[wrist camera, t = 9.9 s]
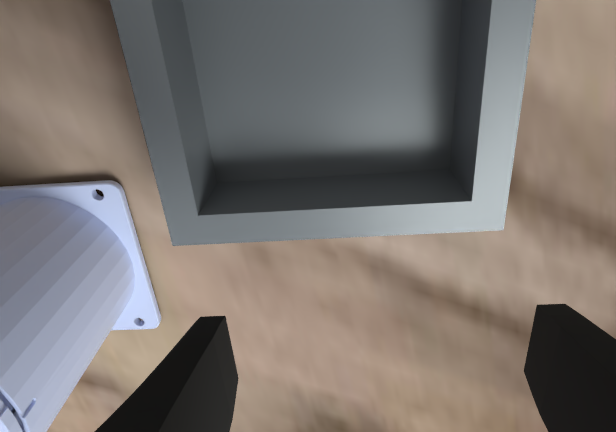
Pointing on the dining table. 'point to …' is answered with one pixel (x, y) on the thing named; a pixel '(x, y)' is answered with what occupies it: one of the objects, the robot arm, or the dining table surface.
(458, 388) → the dining table surface
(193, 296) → the dining table surface
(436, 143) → the case
